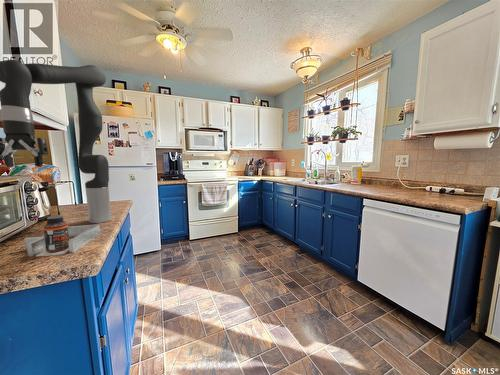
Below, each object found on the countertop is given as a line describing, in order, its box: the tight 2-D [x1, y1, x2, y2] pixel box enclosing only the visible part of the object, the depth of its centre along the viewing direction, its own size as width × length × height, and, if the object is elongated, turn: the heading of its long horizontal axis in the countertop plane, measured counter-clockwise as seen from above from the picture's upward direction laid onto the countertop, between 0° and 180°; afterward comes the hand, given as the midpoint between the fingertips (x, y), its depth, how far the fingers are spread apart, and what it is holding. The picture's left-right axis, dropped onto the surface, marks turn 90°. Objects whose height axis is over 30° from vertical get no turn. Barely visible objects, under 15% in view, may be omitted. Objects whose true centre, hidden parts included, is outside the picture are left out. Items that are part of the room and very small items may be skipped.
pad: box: [35, 248, 69, 257], centre depth 70 cm, size 8×8×1 cm
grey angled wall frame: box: [23, 224, 101, 257], centre depth 75 cm, size 18×17×4 cm
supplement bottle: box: [43, 215, 70, 252], centre depth 69 cm, size 6×6×11 cm
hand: (24, 166), depth 75 cm, fingers open, 8 cm apart
